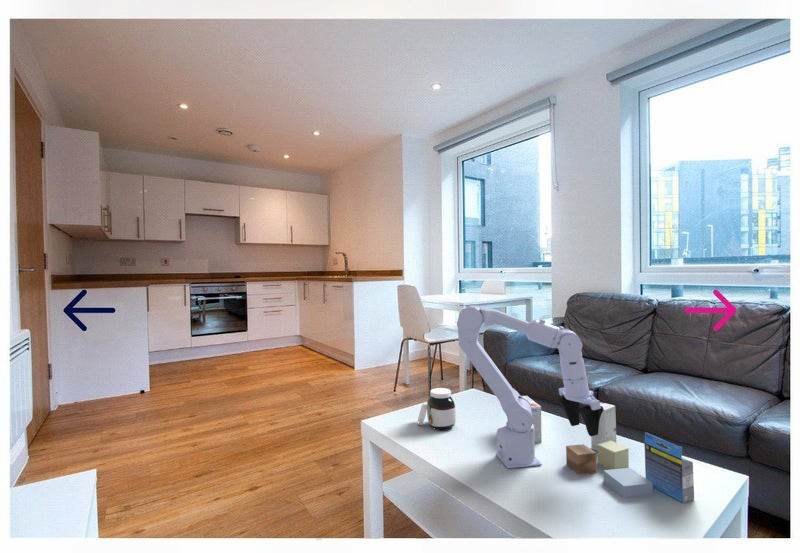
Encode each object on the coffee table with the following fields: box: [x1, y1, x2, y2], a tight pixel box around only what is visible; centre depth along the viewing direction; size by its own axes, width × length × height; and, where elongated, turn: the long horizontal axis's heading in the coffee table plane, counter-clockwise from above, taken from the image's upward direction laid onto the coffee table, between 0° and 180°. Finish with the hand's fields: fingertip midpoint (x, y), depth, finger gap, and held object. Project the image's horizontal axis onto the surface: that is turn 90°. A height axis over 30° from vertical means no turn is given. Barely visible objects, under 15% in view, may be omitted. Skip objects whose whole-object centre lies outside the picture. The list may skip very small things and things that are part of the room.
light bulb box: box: [521, 395, 543, 444], centre depth 119 cm, size 11×7×11 cm, turn 5°
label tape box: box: [643, 431, 695, 504], centre depth 88 cm, size 9×4×12 cm, turn 21°
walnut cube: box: [565, 444, 597, 475], centre depth 99 cm, size 5×5×5 cm
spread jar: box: [417, 387, 457, 431], centre depth 128 cm, size 12×11×12 cm
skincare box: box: [590, 402, 617, 452], centre depth 109 cm, size 6×4×12 cm
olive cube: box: [597, 441, 630, 470], centre depth 100 cm, size 5×5×5 cm
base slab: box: [602, 467, 654, 499], centre depth 89 cm, size 7×7×3 cm
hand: (584, 429), depth 99 cm, fingers open, 7 cm apart
